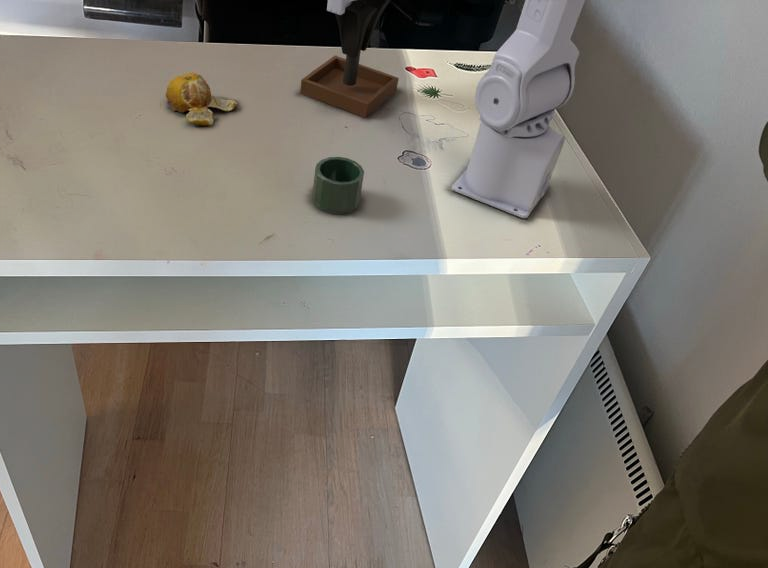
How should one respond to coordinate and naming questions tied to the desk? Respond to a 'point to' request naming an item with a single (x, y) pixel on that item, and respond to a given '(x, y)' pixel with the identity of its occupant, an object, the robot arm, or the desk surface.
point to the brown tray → (349, 87)
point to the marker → (351, 70)
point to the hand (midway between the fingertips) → (354, 51)
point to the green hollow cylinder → (337, 185)
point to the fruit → (195, 98)
